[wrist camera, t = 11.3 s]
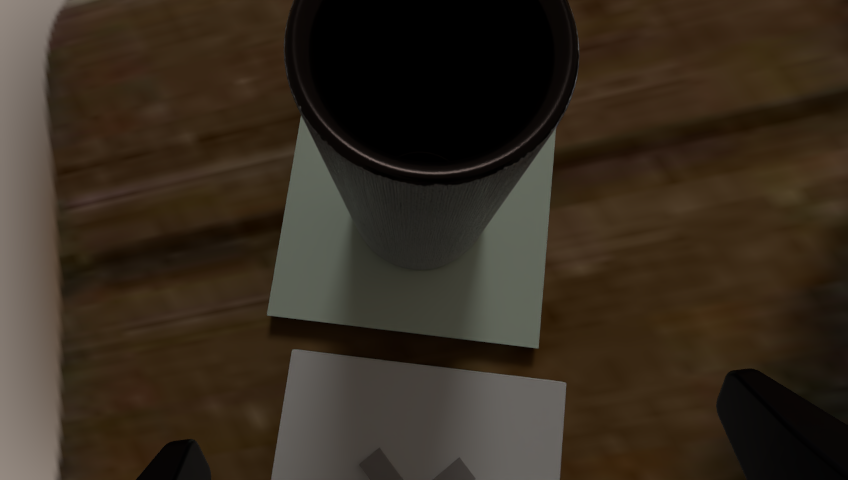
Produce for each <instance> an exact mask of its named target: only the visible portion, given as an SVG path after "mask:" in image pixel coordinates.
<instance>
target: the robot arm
mask: <svg viewBox="0 0 848 480" xmlns="http://www.w3.org/2000/svg"><path fill="white" fill-rule="evenodd" d="M716 407H717V413H718V416H719V418H720V420H721V423H722V425H723V427H724V429H725V432H726V434H727V436H728V438H729V441H730V443H731V445H732V447H733V450H734V452H735V454H736V456H737V459H738V461H739V463H740V465H741V468H742V470H743V472H744V474H745V477H746V479H747V480H848V425H846V424H845V423H843V422H841V421H840V420H838V419H836V418H835V417H833V416H832V415H830V414H828V413H827V412H825V411H823V410H822V409H820V408H818V407H817V406H815V405H814V404H812V403H810V402H809V401H807V400H805V399H804V398H802V397H801V396H799V395H797V394H796V393H794V392H792V391H791V390H789V389H788V388H786V387H784V386H783V385H781V384H779V383H778V382H776V381H774V380H773V379H771V378H770V377H768V376H766V375H765V374H763V373H761V372H760V371H758V370H755V369H741V370H733V371H730V372H729V373H728V374H727V375H726V377H725V380H724V382H723V385H722V388H721V391H720V393H719V396H718V399H717V405H716ZM136 480H211V472H210V468H209V465H208V463H207V461H206V459H205V457H204V455H203V453H202V451H201V449H200V447H199V445H198V443H197V442H196V441H195V440H193V439H186V440H178V441H172V442H169V443H168V444H166V445H165V446H164V447H163V448H162V449H161V451H160V452H159V453H158V454H157V455H156V456H155V458H154V459H153V460H152V461H151V462H150V464H149V465H148V466H147V467H146V468H145V470H144V471H143V472H142V473H141V474H140V475H139V477H138V478H137V479H136Z"/></svg>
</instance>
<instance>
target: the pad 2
mask: <svg viewBox="0 0 848 480" xmlns="http://www.w3.org/2000/svg"><path fill="white" fill-rule="evenodd" d="M565 394H566V383H564V382H560V381H552V380H544V379H536V378H527V377H519V376H511V375H503V374H495V373H486V372H478V371H470V370H462V369H453V368H445V367H437V366H429V365H421V364H412V363H404V362H396V361H388V360H379V359H371V358H363V357H355V356H347V355H338V354H330V353H322V352H314V351H306V350H297V349H295V350H292V354H291V360H290V366H289V372H288V379H287V385H286V391H285V397H284V403H283V410H282V416H281V422H280V428H279V434H278V441H277V447H276V453H275V459H274V465H273V472H272V478H271V480H560V466H561V452H562V438H563V423H564V409H565Z"/></svg>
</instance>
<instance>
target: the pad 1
mask: <svg viewBox="0 0 848 480" xmlns="http://www.w3.org/2000/svg"><path fill="white" fill-rule="evenodd" d="M555 133H556V128H555V130H554V131H553V133H552V134H551V136H550V137H549V139H548V140H547V142H546V143H545V144H544V146H543V147H542V149H541V150H540V152H539V153H538V154H537V156H536V157H535V159H534V160H533V161H532V163H531V164H530V166H529V167H528V168H527V170H526V171H525V173H524V174H523V175H522V177H521V178H520V180H519V181H518V183H517V184H516V185H515V187H514V188H513V190H512V191H511V192H510V194H509V195H508V197H507V198H506V199H505V201H504V202H503V204H502V205H501V207H500V208H499V209H498V211H497V212H496V214H495V215H494V216H493V218H492V219H491V221H490V222H489V223H488V225H487V226H486V228H485V229H484V230H483V232H482V233H481V235H480V236H479V238H478V239H477V240H476V242H475V243H474V244H473V245H472V246H471V248H470V249H468V250H467V251H466V252H465V253H464V254H463V255H461V256H460V257H459V258H457V259H456V260H454V261H452V262H451V263H449V264H446V265H444V266H441V267H438V268H433V269H427V270H413V269H407V268H402V267H399V266H396V265H394V264H391V263H389V262H387V261H386V260H384V259H383V258H381V257H380V256H378V255H377V254H376V253H375V252H374V251H373V250H372V249H371V248H370V247H369V246H368V245H367V244H366V242H365V241H364V240H363V238H362V237H361V235H360V233H359V232H358V230H357V228H356V226H355V224H354V222H353V220H352V217H351V215H350V213H349V211H348V209H347V207H346V205H345V203H344V201H343V199H342V197H341V195H340V193H339V191H338V189H337V187H336V185H335V183H334V181H333V179H332V177H331V175H330V173H329V171H328V169H327V167H326V165H325V163H324V161H323V159H322V157H321V155H320V153H319V150H318V148H317V146H316V144H315V142H314V140H313V138H312V136H311V134H310V132H309V130H308V128H307V126H306V124H305V122H304V120H303V118H302V116H301V119H300V125H299V131H298V137H297V143H296V149H295V154H294V160H293V166H292V172H291V178H290V184H289V189H288V195H287V201H286V207H285V213H284V219H283V224H282V230H281V236H280V242H279V248H278V253H277V259H276V265H275V271H274V277H273V283H272V288H271V294H270V300H269V306H268V312H267V315H268V316H276V317H284V318H292V319H301V320H309V321H317V322H325V323H333V324H342V325H350V326H358V327H366V328H374V329H383V330H391V331H399V332H407V333H415V334H424V335H432V336H440V337H448V338H456V339H465V340H473V341H481V342H489V343H497V344H506V345H514V346H522V347H530V348H538V346H539V334H540V321H541V309H542V296H543V284H544V271H545V258H546V246H547V233H548V221H549V208H550V195H551V183H552V170H553V158H554V145H555Z"/></svg>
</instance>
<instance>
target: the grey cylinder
mask: <svg viewBox="0 0 848 480" xmlns="http://www.w3.org/2000/svg"><path fill="white" fill-rule="evenodd" d="M284 60H285V69H286V74H287V79H288V83H289V86H290V90H291V92H292V95H293V98H294V100H295V103H296V105H297V107H298V109H299V111H300V114H301V116H302V118H303V120H304V122H305V124H306V126H307V128H308V130H309V132H310V134H311V136H312V138H313V140H314V142H315V144H316V146H317V148H318V150H319V153H320V155H321V157H322V159H323V161H324V163H325V165H326V167H327V169H328V171H329V173H330V175H331V177H332V179H333V181H334V183H335V185H336V187H337V189H338V191H339V193H340V195H341V197H342V199H343V201H344V203H345V205H346V207H347V209H348V211H349V213H350V215H351V217H352V220H353V222H354V224H355V226H356V228H357V230H358V232H359V233H360V235H361V237H362V238H363V240H364V241H365V242H366V244H367V245H368V246H369V247H370V248H371V249H372V250H373V251H374V252H375V253H376V254H377V255H378V256H380V257H381V258H383V259H384V260H386V261H387V262H389V263H391V264H394V265H396V266H399V267H402V268H407V269H413V270H427V269H433V268H438V267H441V266H444V265H446V264H449V263H451V262H452V261H454V260H456V259H457V258H459V257H460V256H461V255H463V254H464V253H465V252H466V251H467V250H468V249H470V248H471V246H472V245H473V244H474V243H475V242H476V240H477V239H478V238H479V236H480V235H481V233H482V232H483V230H484V229H485V228H486V226H487V225H488V223H489V222H490V221H491V219H492V218H493V216H494V215H495V214H496V212H497V211H498V209H499V208H500V207H501V205H502V204H503V202H504V201H505V199H506V198H507V197H508V195H509V194H510V192H511V191H512V190H513V188H514V187H515V185H516V184H517V183H518V181H519V180H520V178H521V177H522V175H523V174H524V173H525V171H526V170H527V168H528V167H529V166H530V164H531V163H532V161H533V160H534V159H535V157H536V156H537V154H538V153H539V152H540V150H541V149H542V147H543V146H544V144H545V143H546V142H547V140H548V139H549V137H550V136H551V134H552V133H553V131H554V130H555V128H556V127H557V125H558V124H559V122H560V120H561V119H562V117H563V115H564V113H565V111H566V109H567V107H568V105H569V103H570V100H571V98H572V95H573V92H574V89H575V84H576V80H577V75H578V68H579V42H578V34H577V28H576V24H575V20H574V17H573V13H572V11H571V8H570V5H569V3H568V1H567V0H294V1H293V4H292V7H291V10H290V13H289V16H288V20H287V25H286V31H285V39H284Z"/></svg>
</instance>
